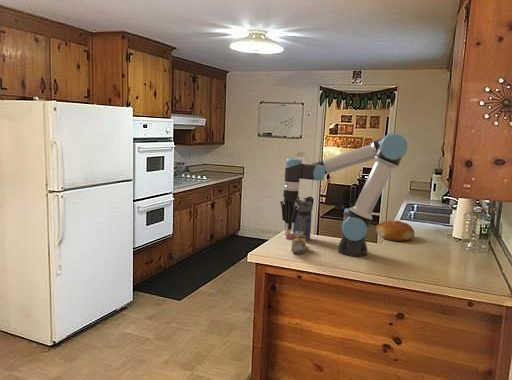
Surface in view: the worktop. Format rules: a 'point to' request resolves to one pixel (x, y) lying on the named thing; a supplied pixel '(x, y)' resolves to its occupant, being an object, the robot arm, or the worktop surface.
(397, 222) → the bread
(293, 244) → the valve pipe
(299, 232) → the lever
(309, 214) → the beverage bottle
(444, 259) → the worktop surface
